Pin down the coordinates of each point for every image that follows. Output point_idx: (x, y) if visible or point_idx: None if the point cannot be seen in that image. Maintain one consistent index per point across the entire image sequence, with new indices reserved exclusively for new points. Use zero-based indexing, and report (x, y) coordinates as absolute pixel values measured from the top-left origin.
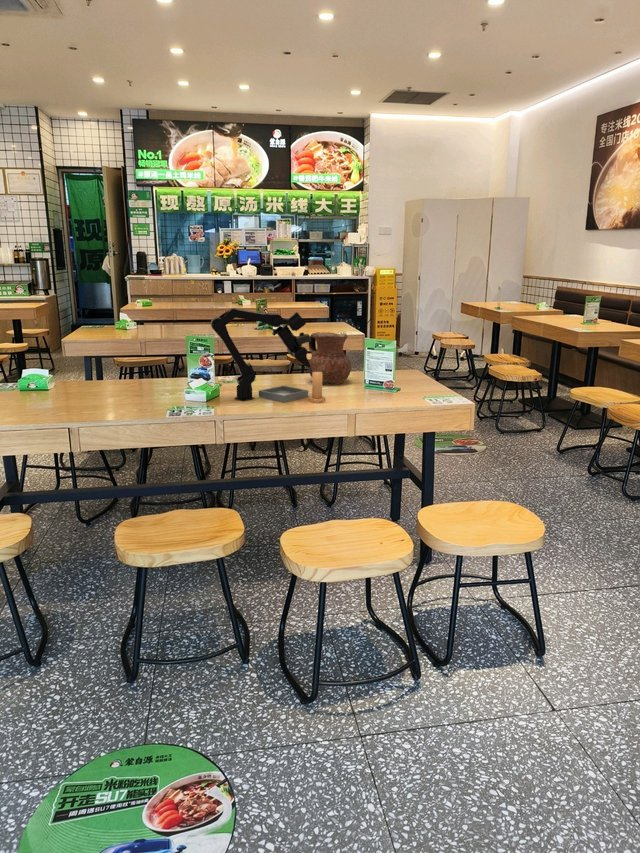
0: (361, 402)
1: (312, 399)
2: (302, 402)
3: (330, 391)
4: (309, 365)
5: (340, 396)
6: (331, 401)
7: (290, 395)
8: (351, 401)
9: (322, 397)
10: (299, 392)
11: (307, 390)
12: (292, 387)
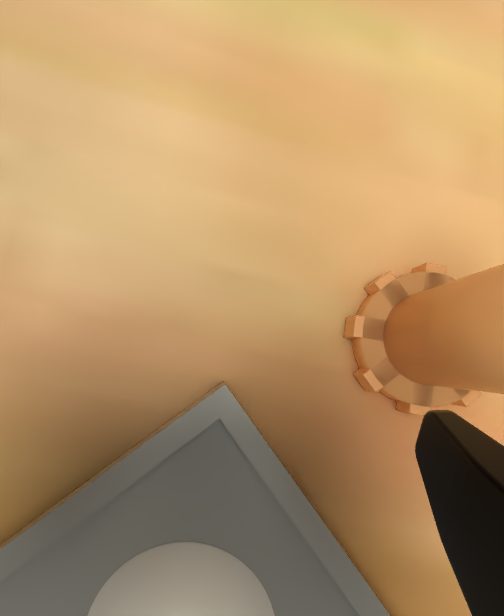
0: (497, 5)
1: (479, 395)
2: None
3: (40, 120)
4: (473, 437)
5: (264, 95)
6: (434, 220)
7: (387, 612)
8: (455, 66)
9: (421, 286)
10: (306, 499)
11: (231, 393)
12: (33, 537)
